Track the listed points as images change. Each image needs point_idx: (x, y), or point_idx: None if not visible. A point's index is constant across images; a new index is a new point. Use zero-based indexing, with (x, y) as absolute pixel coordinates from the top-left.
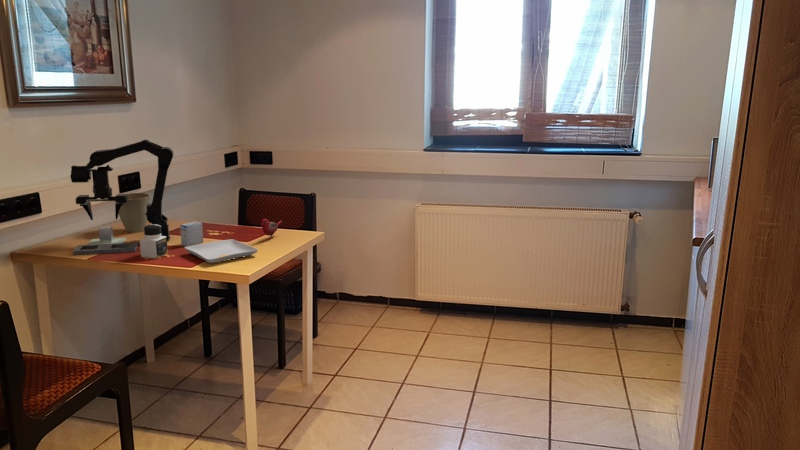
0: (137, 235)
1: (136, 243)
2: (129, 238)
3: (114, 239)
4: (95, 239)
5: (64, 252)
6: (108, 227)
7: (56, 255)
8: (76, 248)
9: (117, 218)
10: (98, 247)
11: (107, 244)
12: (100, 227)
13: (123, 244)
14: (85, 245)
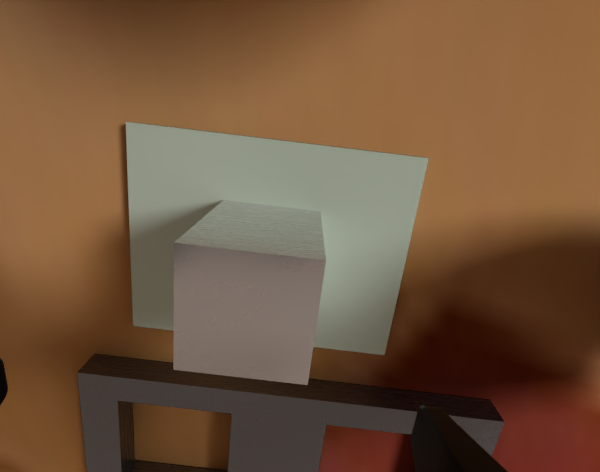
0: (548, 21)
1: (489, 445)
2: (455, 137)
3: (326, 197)
4: (157, 142)
5: (31, 407)
6: (281, 331)
7: (9, 453)
8: (92, 447)
9: (441, 412)
10: (233, 464)
11: (286, 413)
12: (180, 300)
13: (397, 429)
14: (132, 393)
